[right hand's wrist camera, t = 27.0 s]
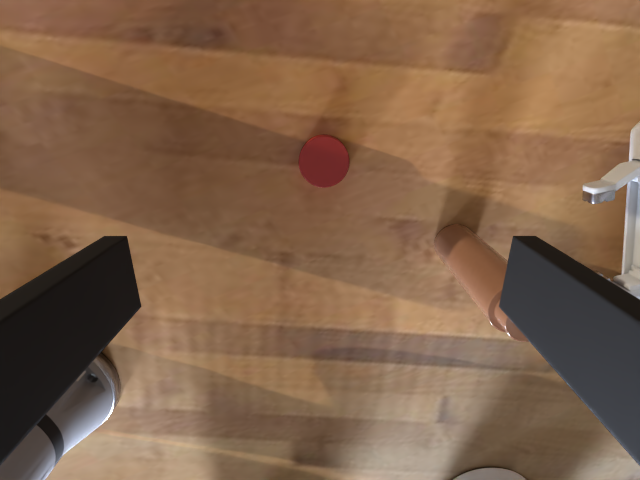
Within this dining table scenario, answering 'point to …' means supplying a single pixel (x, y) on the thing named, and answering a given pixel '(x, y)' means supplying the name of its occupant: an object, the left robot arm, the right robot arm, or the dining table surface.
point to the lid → (323, 161)
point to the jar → (477, 273)
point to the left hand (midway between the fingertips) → (585, 241)
